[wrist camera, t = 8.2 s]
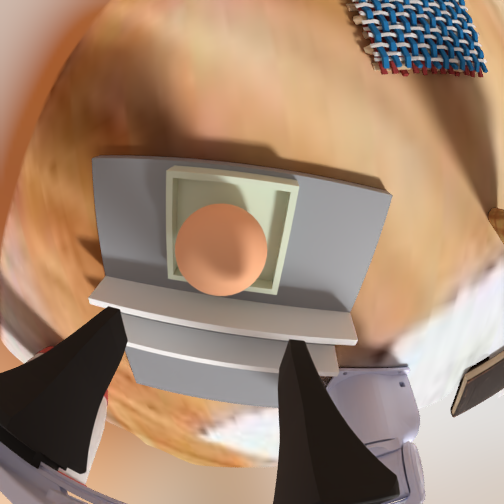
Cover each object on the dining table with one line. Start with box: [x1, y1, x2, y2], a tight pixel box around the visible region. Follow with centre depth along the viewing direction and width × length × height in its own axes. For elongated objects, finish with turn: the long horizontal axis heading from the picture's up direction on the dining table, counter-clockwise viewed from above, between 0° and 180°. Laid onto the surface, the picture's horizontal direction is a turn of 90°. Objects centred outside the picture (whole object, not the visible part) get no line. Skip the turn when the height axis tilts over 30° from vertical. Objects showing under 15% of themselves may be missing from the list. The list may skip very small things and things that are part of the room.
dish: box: [166, 165, 299, 295], centre depth 17 cm, size 7×7×1 cm
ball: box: [175, 203, 267, 296], centre depth 15 cm, size 5×5×5 cm
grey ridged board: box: [88, 155, 392, 408], centre depth 21 cm, size 20×26×4 cm
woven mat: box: [346, 0, 488, 77], centre depth 9 cm, size 10×11×2 cm
